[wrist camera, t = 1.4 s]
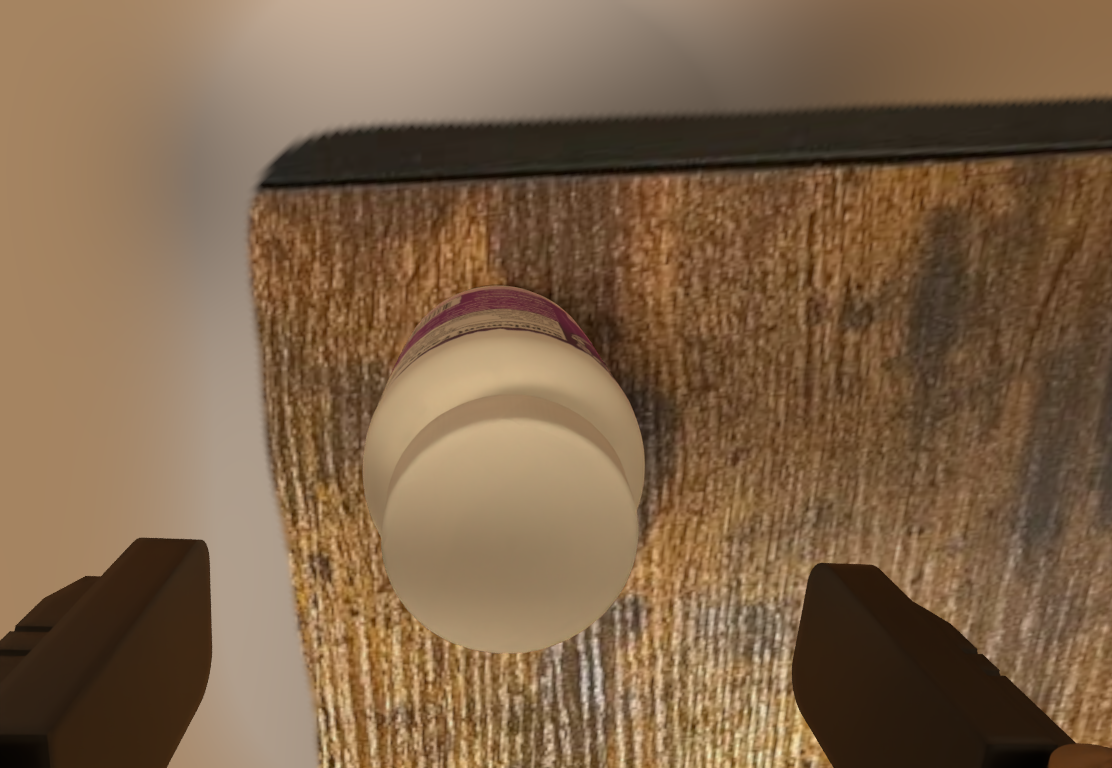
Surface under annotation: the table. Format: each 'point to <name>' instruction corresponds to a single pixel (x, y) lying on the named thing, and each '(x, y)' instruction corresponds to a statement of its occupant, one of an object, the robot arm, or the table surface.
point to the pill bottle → (504, 474)
